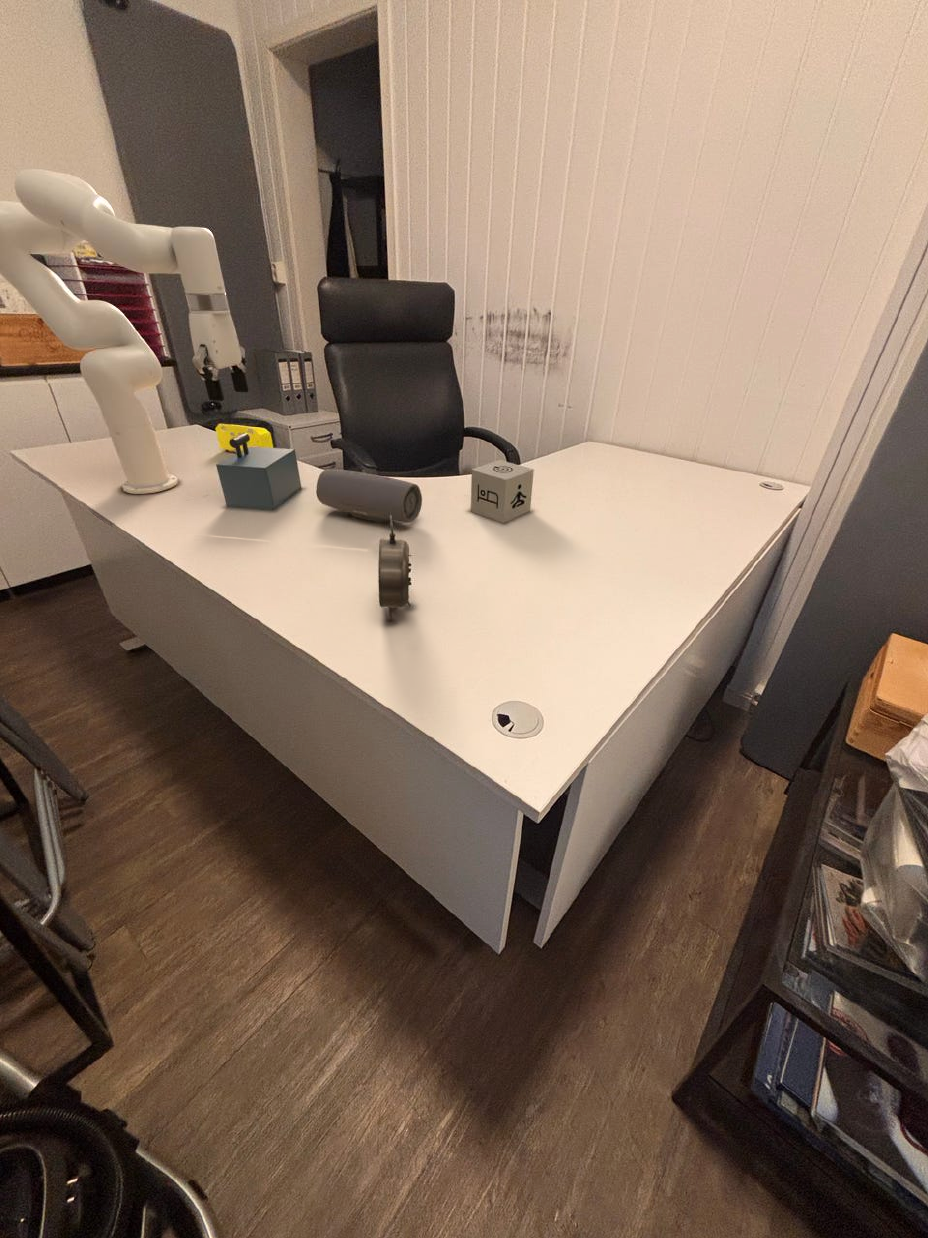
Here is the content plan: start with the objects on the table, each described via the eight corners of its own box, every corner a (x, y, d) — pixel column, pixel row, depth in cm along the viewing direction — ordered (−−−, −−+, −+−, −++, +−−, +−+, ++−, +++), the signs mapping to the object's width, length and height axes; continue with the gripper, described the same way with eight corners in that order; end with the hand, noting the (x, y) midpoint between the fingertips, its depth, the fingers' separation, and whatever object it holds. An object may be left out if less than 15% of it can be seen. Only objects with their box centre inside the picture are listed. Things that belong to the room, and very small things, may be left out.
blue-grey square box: (226, 506, 120) (210, 444, 112) (258, 484, 132) (245, 427, 124) (273, 510, 119) (260, 447, 110) (301, 488, 131) (291, 430, 123)
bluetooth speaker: (424, 518, 116) (422, 475, 110) (403, 534, 109) (400, 489, 103) (342, 502, 124) (337, 461, 118) (318, 515, 117) (311, 472, 111)
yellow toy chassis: (220, 451, 157) (212, 423, 152) (232, 446, 161) (225, 419, 157) (263, 457, 153) (257, 428, 148) (274, 451, 157) (269, 423, 153)
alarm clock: (383, 590, 90) (375, 503, 80) (413, 589, 90) (409, 502, 81) (379, 626, 81) (370, 532, 71) (414, 625, 81) (408, 531, 72)
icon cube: (470, 511, 120) (471, 469, 114) (497, 500, 126) (499, 459, 120) (503, 523, 114) (506, 479, 109) (530, 510, 121) (533, 469, 115)
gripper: (216, 302, 109) (235, 387, 119) (163, 306, 95) (189, 403, 105) (248, 302, 108) (265, 389, 118) (199, 307, 94) (222, 404, 104)
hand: (229, 395), depth 111 cm, fingers open, 9 cm apart
